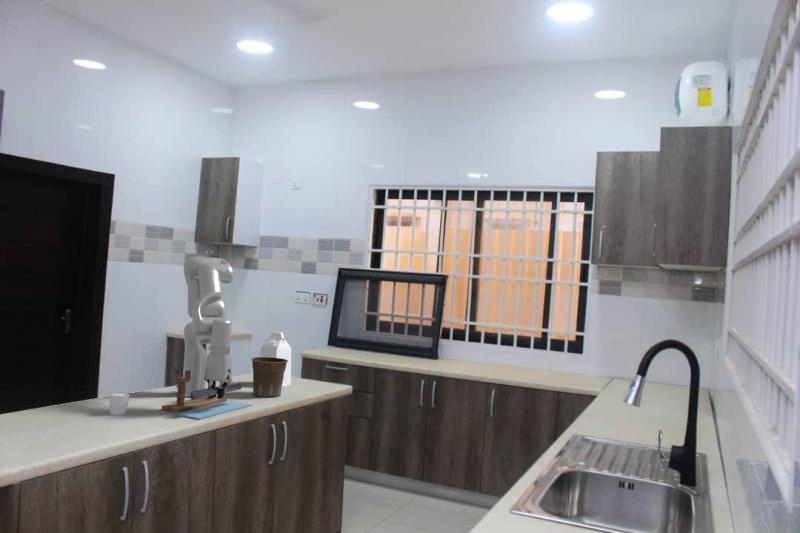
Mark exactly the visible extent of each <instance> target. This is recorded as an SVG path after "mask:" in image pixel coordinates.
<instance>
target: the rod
mask: <svg viewBox="0 0 800 533" xmlns="http://www.w3.org/2000/svg"><path fill="white" fill-rule="evenodd" d="M242 388H243V384H242V382H241V381H238V382H232V383H230V384H228V385H227V386H226V388H225V391H224V394H225V393H230V392H234V391H239V390H240V391H241V390H242ZM218 389H219V385H218V386H215V387H212V388H208V387H207V388H205V389H202V390H197V391H192V392H191V393H190V397H189V399H198V398H202V397H207V396H212V395H216V396H217V395H218Z"/></svg>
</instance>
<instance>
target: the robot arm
mask: <svg viewBox="0 0 800 533" xmlns="http://www.w3.org/2000/svg"><path fill="white" fill-rule="evenodd" d="M234 274H235V273H234V269H233V267H232V265H231V264H230V263H229V262H228V261H227V260H225V259H224V258H218V257H207V256H190V257H188V258H185V261H184V262H183V275H184V279H185V283H186V286H187V314H188V316H189V318H191V320H192V321H191V322H188V323H186V325H185V326H184V328H183V339H184V357H183V358H184V359H183V370H182V373H183V374H182V378H185V371H188V370H190V371H191V374H190V382H186V386H185V398H190V393H191V392H192V391H197V390H202V389H206V383H207V385H208V384H209V387H210V388H212V387H217V386H216V385H217V381H218V383H219V384H218V386H219V389H218V394H216V395H212V396H210V398H213V397H216V396H217V398H218V399H222V398H225V393H224V391H225V388H226V386H227V385H228V384H232V383H234V381H233V379H232V373H233V372H232V371H233V370H232V369H233V366H232V356H231V354H230V352H231V339H232V326H233V324H232V321H231V320H230V319H227V318H226V305H225V302H224V300H223V299H222V298H223V292H222V291H223V290H222V284H226V285H227V284H228V285H229V284H231V283H233V282H232V281H233V280H234ZM203 345H210V346H208V350H209V353H208V352H207V350H206V349H205V347H204V346H203ZM175 388H177V389H178V384H176V385H175Z"/></svg>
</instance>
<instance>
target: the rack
mask: <svg viewBox="0 0 800 533" xmlns="http://www.w3.org/2000/svg"><path fill="white" fill-rule="evenodd" d="M181 371H182V370H181V368H176V369H174V376H173V377H174V381H175V382H177V385H178V388H177V394H176V402H172V403H169V404H163V405H161V410H162V411H167V412H172V413H177V412H178V413H181V412H185V411H189V410H194V409H198V408H202V407H206V406H210V405H214V404H218V403H222V402H226V401H228V397H224V398H222V399H218V398H217V396H218V395H216V397H213V398H210V396H207V397H202V398H198V399H191V398H189V399H186V400H185V398H186V397H185V386H186V382H190V374H191V371H190V370H188V371H185V378H183V377H181ZM207 388H210V387H209V384H208V383H207Z"/></svg>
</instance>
